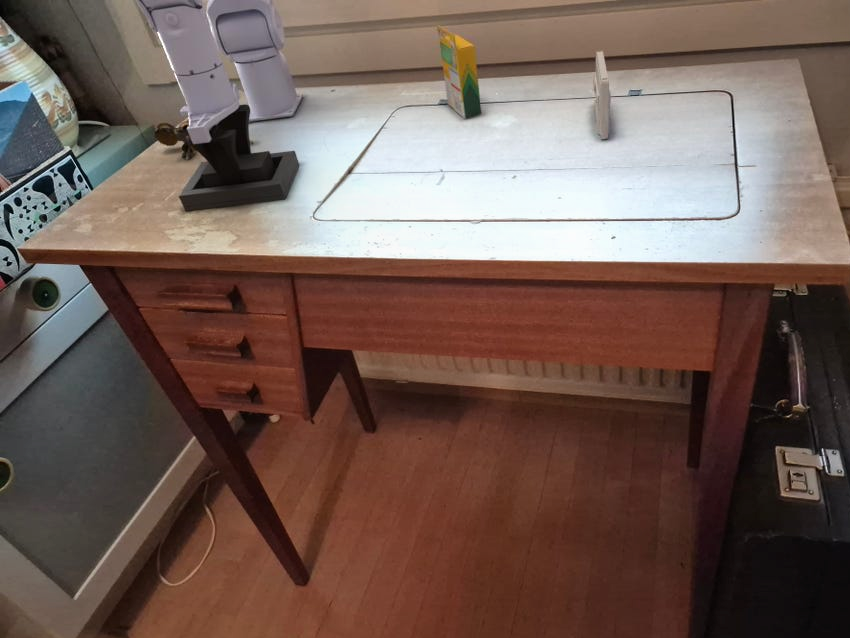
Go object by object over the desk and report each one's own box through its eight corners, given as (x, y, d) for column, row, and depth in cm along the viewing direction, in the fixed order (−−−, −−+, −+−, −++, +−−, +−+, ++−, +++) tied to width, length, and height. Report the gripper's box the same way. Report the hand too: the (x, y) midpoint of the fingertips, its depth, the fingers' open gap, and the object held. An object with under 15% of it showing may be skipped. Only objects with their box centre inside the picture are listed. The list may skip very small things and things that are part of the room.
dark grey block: (276, 171, 90) (269, 150, 88) (268, 188, 86) (260, 167, 84) (219, 178, 90) (211, 157, 88) (209, 195, 86) (200, 174, 84)
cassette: (611, 139, 86) (612, 79, 81) (597, 140, 86) (597, 81, 81) (605, 105, 95) (606, 49, 90) (592, 106, 95) (592, 50, 90)
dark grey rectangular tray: (207, 176, 93) (201, 161, 91) (299, 165, 92) (294, 150, 90) (185, 211, 85) (178, 195, 84) (285, 199, 84) (279, 183, 83)
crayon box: (483, 114, 98) (473, 30, 90) (464, 119, 97) (453, 35, 90) (465, 100, 103) (454, 19, 96) (447, 104, 102) (435, 24, 95)
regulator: (262, 138, 103) (168, 129, 103) (255, 118, 99) (158, 109, 100) (249, 173, 99) (152, 164, 100) (241, 154, 96) (141, 144, 96)
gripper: (185, 53, 84) (224, 154, 93) (144, 93, 73) (193, 203, 82) (238, 45, 84) (273, 148, 92) (205, 85, 73) (248, 196, 82)
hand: (239, 173), depth 87 cm, fingers closed on dark grey block, 5 cm apart
